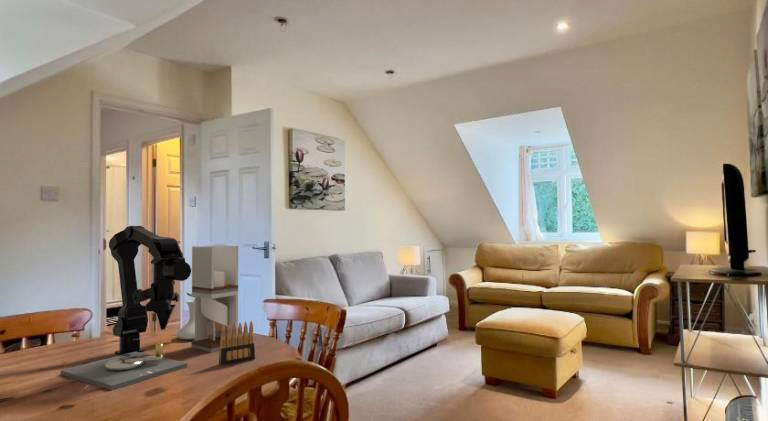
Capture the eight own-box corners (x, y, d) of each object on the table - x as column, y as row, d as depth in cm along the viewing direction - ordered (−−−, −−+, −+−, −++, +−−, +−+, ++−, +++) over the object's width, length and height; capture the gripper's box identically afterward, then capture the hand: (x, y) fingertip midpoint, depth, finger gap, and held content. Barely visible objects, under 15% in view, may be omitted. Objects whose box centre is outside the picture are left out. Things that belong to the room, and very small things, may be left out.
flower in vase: (176, 343, 164) (177, 273, 165) (175, 336, 174) (175, 270, 175) (215, 338, 170) (215, 271, 171) (211, 332, 180) (211, 269, 181)
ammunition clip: (220, 365, 137) (220, 325, 137) (218, 364, 138) (218, 324, 139) (255, 359, 143) (255, 321, 144) (252, 358, 145) (253, 320, 145)
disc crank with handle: (100, 372, 126) (100, 352, 127) (111, 362, 136) (111, 343, 136) (159, 367, 130) (159, 348, 131) (166, 357, 140) (166, 339, 140)
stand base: (60, 374, 130) (60, 369, 130) (135, 355, 149) (135, 351, 149) (112, 390, 117) (112, 385, 117) (187, 366, 136) (187, 362, 136)
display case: (191, 347, 158) (192, 246, 159) (218, 340, 167) (218, 245, 168) (211, 352, 151) (211, 247, 153) (237, 345, 160) (238, 245, 161)
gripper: (142, 276, 148) (142, 324, 148) (126, 283, 130) (125, 338, 130) (179, 275, 151) (179, 322, 150) (168, 282, 133) (167, 335, 132)
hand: (163, 329), depth 141 cm, fingers closed
